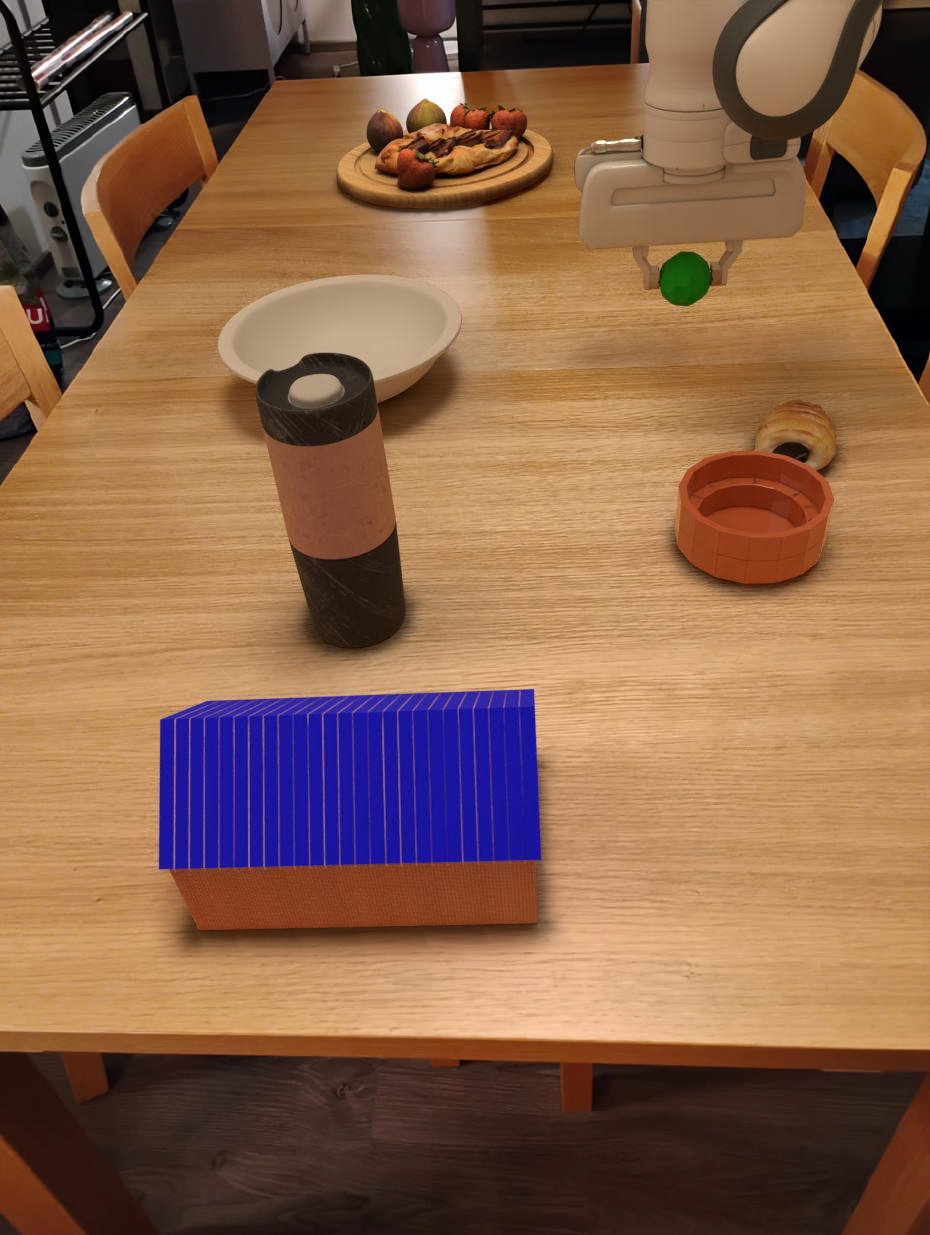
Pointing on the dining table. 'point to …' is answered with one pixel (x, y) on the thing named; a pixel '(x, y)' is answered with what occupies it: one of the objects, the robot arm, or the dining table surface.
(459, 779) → the house
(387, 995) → the dining table surface
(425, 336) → the soup bowl
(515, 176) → the wooden plate
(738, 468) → the dessert bowl
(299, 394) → the travel mug
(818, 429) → the pastry
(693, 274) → the polyhedron
